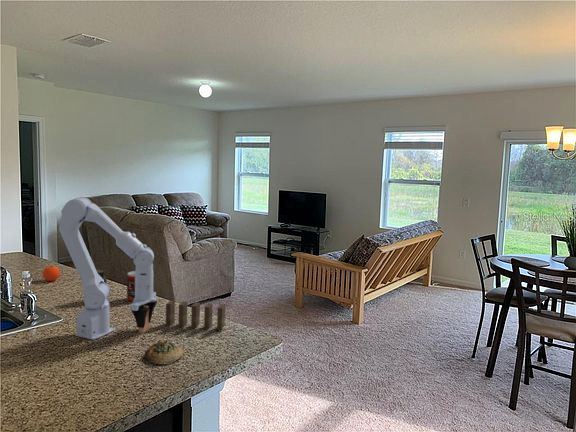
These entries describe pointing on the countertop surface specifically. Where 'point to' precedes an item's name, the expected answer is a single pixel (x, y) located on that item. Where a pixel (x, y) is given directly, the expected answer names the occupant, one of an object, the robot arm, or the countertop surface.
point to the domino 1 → (146, 327)
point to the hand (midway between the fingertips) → (143, 324)
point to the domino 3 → (182, 314)
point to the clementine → (51, 273)
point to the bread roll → (163, 353)
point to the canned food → (131, 286)
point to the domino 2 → (170, 313)
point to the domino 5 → (208, 316)
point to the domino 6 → (221, 317)
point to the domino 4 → (195, 315)
